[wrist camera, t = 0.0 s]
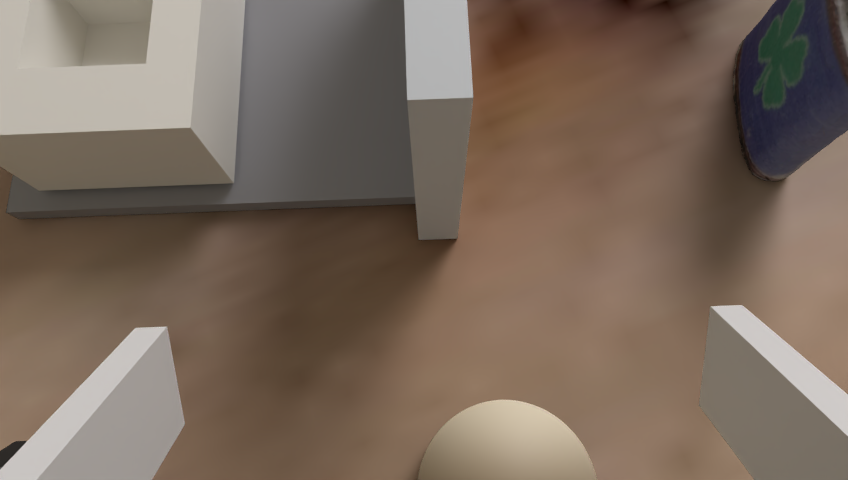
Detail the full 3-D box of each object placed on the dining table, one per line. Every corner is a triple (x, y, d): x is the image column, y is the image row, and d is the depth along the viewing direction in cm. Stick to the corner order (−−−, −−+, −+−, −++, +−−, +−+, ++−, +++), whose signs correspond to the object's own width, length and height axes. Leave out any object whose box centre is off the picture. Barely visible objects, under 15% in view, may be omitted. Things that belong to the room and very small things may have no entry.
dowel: (516, 510, 28) (610, 592, 13) (427, 513, 28) (419, 598, 13) (509, 418, 30) (588, 396, 14) (424, 421, 30) (413, 402, 14)
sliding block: (233, 183, 32) (190, 127, 26) (38, 190, 32) (-47, 136, 26) (246, -13, 36) (210, -99, 30) (70, -6, 36) (1, -90, 30)
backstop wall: (457, 238, 32) (473, 97, 19) (12, 255, 32) (-283, 127, 19) (442, -47, 38) (446, -312, 24) (61, -31, 38) (-142, -287, 25)
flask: (793, 186, 33) (952, 71, 23) (736, 180, 33) (868, 64, 23) (782, 36, 36) (920, -126, 26) (730, 31, 36) (846, -131, 26)
